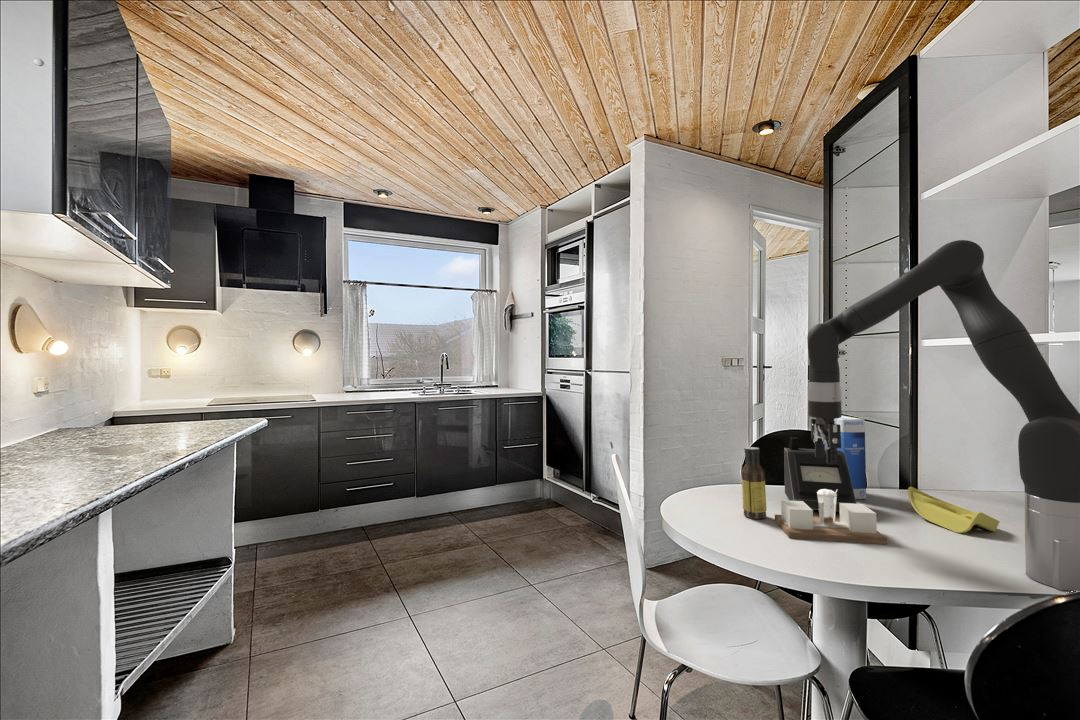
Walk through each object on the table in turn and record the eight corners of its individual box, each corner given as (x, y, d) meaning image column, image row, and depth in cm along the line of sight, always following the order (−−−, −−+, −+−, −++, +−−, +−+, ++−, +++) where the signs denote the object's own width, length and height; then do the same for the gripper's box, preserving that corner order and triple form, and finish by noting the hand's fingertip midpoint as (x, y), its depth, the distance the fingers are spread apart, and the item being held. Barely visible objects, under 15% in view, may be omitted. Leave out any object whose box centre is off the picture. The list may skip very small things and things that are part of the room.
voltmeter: (794, 512, 141) (793, 445, 140) (784, 497, 156) (784, 436, 156) (857, 518, 135) (856, 448, 135) (841, 501, 151) (840, 438, 151)
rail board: (887, 544, 116) (886, 536, 116) (789, 537, 121) (789, 530, 121) (861, 524, 130) (861, 517, 130) (774, 519, 135) (774, 513, 135)
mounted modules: (876, 533, 119) (876, 513, 119) (789, 528, 124) (789, 509, 124) (862, 522, 127) (862, 504, 127) (781, 518, 131) (781, 500, 131)
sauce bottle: (769, 516, 138) (768, 447, 138) (761, 521, 133) (760, 450, 133) (747, 511, 142) (746, 445, 142) (738, 516, 138) (737, 448, 138)
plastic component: (1004, 523, 123) (976, 509, 121) (992, 549, 123) (963, 535, 121) (930, 496, 142) (905, 483, 140) (920, 518, 142) (894, 506, 140)
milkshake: (830, 529, 121) (830, 490, 121) (813, 522, 127) (812, 485, 127) (844, 527, 123) (843, 488, 123) (826, 520, 128) (826, 483, 128)
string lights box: (867, 499, 152) (866, 419, 152) (844, 499, 152) (842, 419, 152) (840, 488, 166) (839, 414, 165) (819, 488, 165) (818, 414, 165)
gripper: (851, 401, 118) (853, 467, 117) (830, 397, 131) (831, 455, 131) (818, 401, 119) (819, 466, 119) (800, 397, 133) (801, 455, 133)
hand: (825, 460), depth 125 cm, fingers open, 8 cm apart
